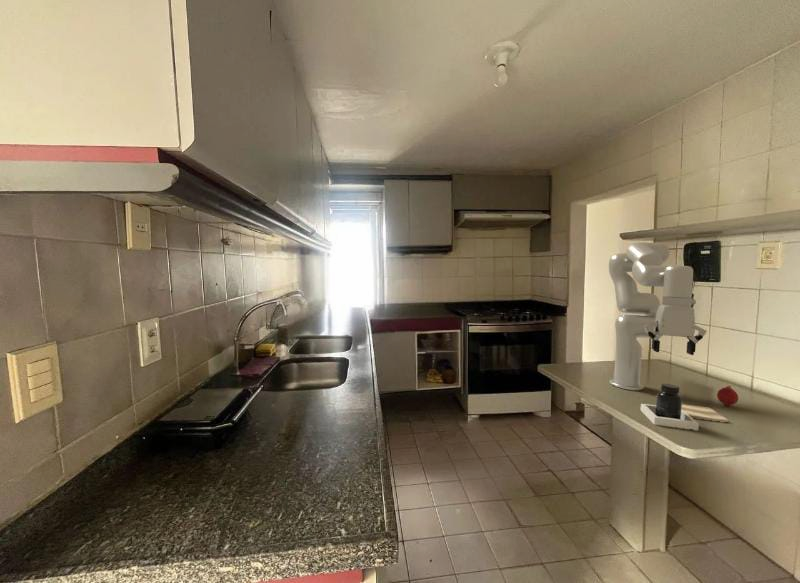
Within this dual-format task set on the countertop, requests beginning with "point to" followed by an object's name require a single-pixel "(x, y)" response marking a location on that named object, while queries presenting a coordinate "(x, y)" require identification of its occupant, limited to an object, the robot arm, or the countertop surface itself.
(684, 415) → the white square frame
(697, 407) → the board
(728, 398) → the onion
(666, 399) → the supplement bottle
